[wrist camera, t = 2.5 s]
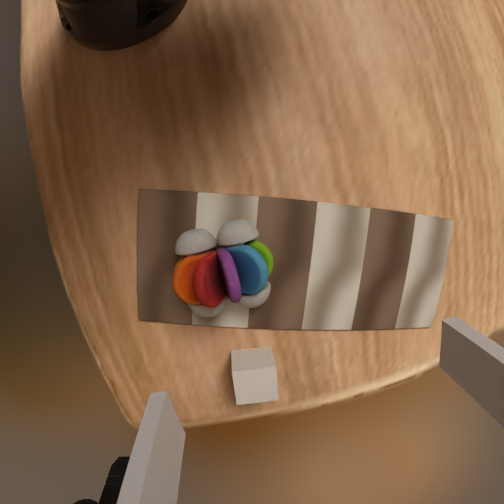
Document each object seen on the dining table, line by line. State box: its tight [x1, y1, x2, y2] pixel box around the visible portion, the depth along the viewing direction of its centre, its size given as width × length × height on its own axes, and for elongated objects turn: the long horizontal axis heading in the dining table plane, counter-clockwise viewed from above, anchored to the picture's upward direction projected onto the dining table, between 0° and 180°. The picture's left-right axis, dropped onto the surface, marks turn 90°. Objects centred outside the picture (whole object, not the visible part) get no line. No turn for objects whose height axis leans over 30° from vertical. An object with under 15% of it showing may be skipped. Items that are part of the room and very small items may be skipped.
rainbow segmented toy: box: [172, 219, 274, 317], centre depth 30 cm, size 8×10×7 cm
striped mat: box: [137, 190, 453, 330], centre depth 34 cm, size 36×14×1 cm, turn 85°
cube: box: [231, 346, 278, 405], centre depth 34 cm, size 4×4×4 cm
